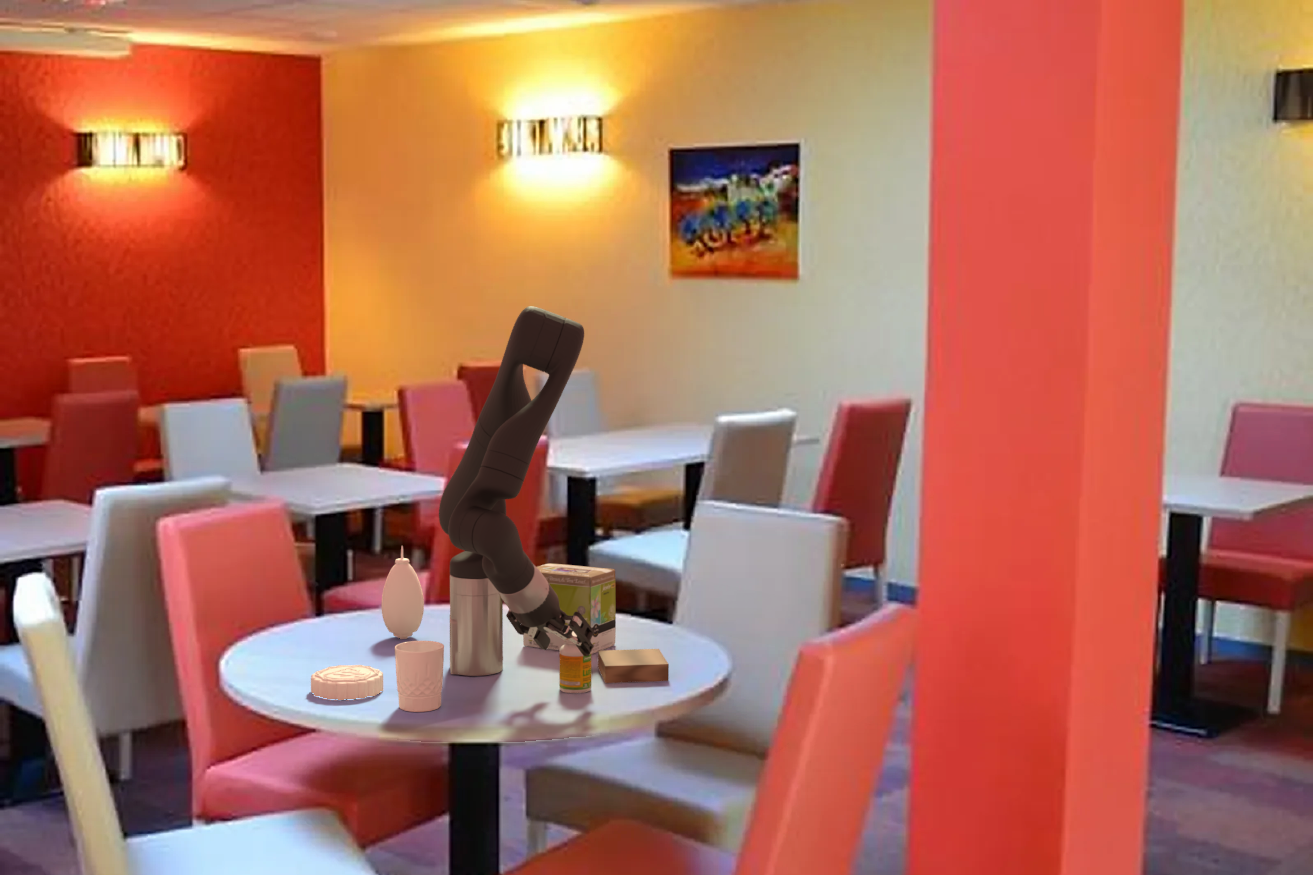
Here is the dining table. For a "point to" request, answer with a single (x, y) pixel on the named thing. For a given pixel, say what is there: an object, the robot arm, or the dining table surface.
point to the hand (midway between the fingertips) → (567, 648)
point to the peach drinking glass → (419, 675)
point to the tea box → (583, 601)
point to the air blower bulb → (402, 599)
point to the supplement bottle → (574, 669)
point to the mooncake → (347, 682)
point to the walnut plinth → (633, 665)
